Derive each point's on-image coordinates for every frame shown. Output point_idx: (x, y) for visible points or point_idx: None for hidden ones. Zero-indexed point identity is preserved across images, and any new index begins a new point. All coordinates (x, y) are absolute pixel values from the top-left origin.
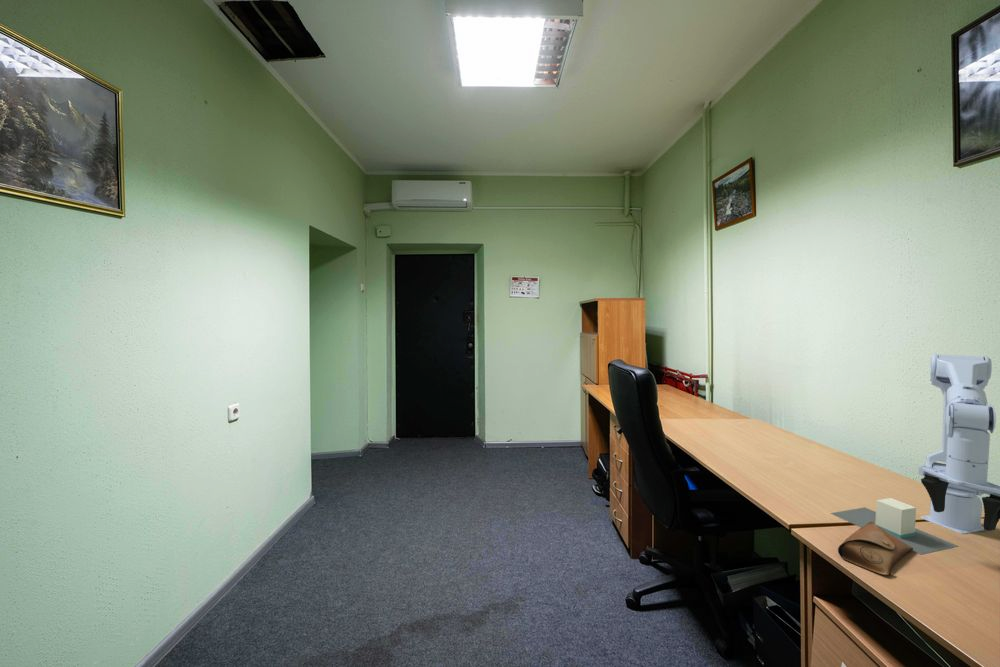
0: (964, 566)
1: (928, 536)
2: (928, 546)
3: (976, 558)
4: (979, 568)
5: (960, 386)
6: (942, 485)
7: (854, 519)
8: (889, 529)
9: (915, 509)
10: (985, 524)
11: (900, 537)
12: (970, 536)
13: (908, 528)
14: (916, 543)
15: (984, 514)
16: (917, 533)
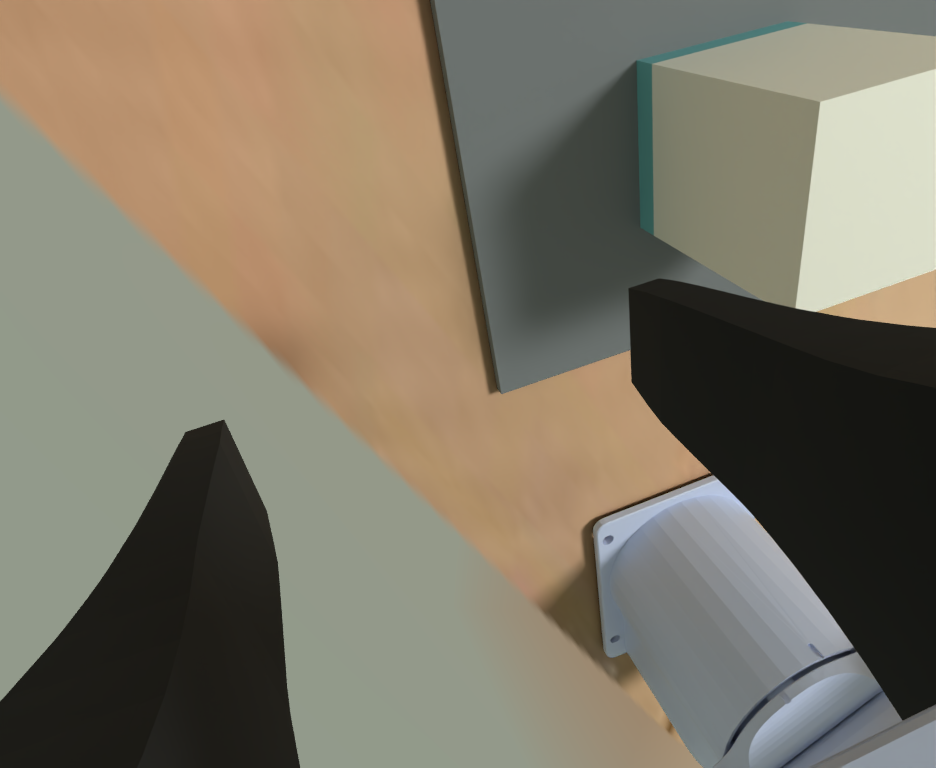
0: (292, 194)
1: (613, 312)
2: (520, 178)
3: (388, 380)
4: (273, 280)
5: None
6: (916, 595)
7: None
8: (725, 45)
9: (781, 302)
10: (197, 456)
11: (641, 62)
12: (577, 547)
13: (678, 172)
14: (563, 121)
15: (193, 543)
16: (653, 276)
